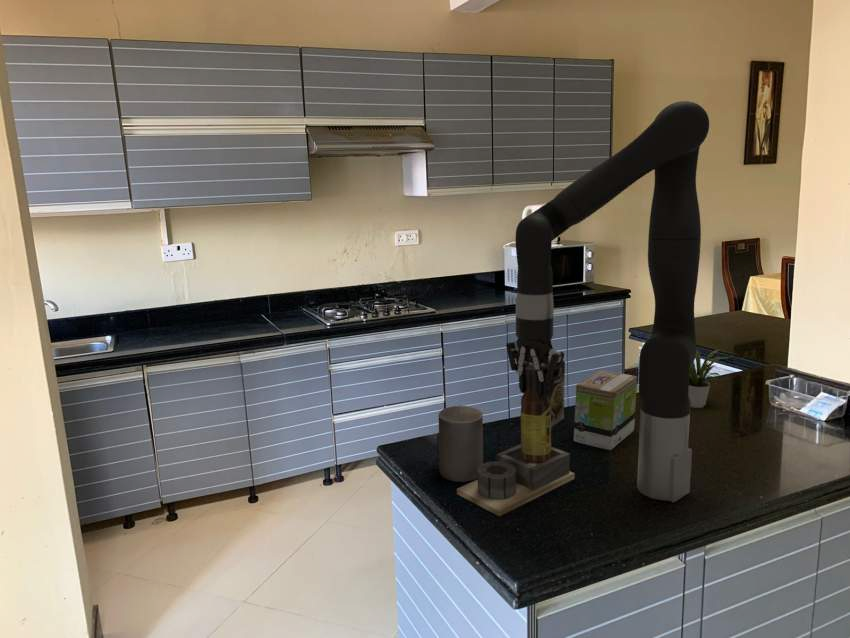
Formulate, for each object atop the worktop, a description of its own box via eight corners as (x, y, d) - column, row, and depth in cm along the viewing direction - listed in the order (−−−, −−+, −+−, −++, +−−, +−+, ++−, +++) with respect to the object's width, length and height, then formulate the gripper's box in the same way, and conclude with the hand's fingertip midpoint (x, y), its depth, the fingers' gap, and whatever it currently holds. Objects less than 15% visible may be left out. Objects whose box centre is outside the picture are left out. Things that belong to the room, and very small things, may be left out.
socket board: (574, 478, 137) (575, 453, 136) (499, 516, 123) (499, 489, 122) (531, 460, 146) (531, 437, 145) (456, 494, 132) (456, 468, 131)
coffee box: (549, 430, 163) (550, 369, 160) (526, 425, 167) (527, 365, 164) (565, 419, 170) (566, 360, 167) (542, 414, 174) (543, 356, 171)
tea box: (612, 452, 150) (615, 391, 146) (572, 442, 156) (573, 384, 152) (635, 430, 161) (638, 374, 158) (597, 422, 167) (598, 368, 164)
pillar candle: (433, 466, 145) (431, 404, 141) (472, 459, 148) (471, 397, 145) (449, 486, 136) (448, 419, 132) (491, 477, 139) (490, 412, 136)
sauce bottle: (553, 464, 133) (554, 372, 129) (522, 464, 133) (522, 372, 129) (547, 451, 139) (548, 362, 135) (518, 451, 139) (518, 363, 135)
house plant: (731, 401, 179) (736, 344, 176) (724, 417, 168) (729, 357, 165) (678, 393, 187) (681, 338, 183) (667, 408, 176) (670, 350, 172)
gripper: (574, 316, 127) (573, 398, 130) (520, 306, 138) (520, 382, 141) (550, 322, 122) (549, 408, 126) (495, 312, 133) (496, 390, 137)
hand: (533, 394), depth 134 cm, fingers closed on sauce bottle, 4 cm apart
